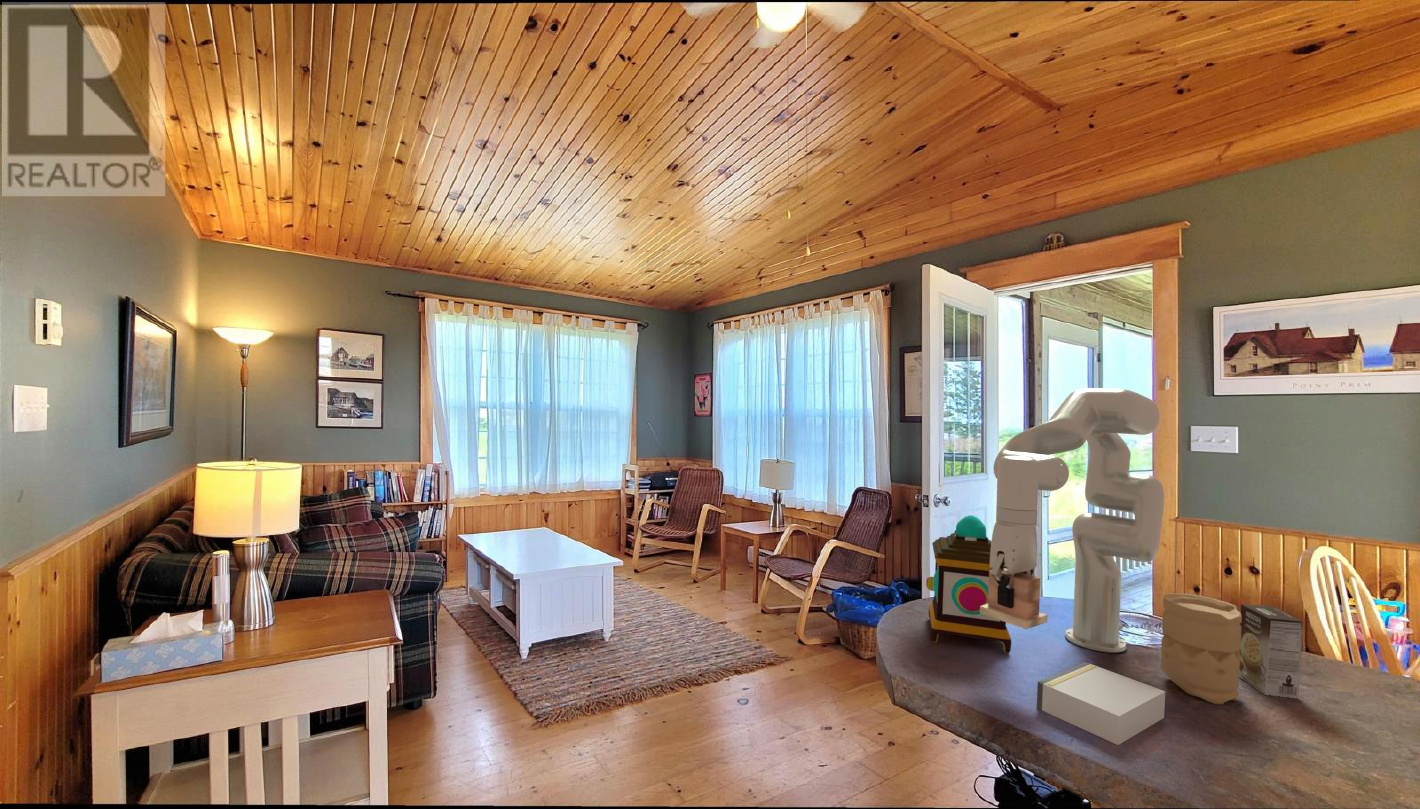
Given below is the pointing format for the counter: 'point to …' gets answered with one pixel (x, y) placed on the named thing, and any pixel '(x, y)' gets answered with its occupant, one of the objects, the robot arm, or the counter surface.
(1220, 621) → the container
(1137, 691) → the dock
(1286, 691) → the coffee box
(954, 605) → the decorative lantern
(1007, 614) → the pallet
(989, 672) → the counter surface
